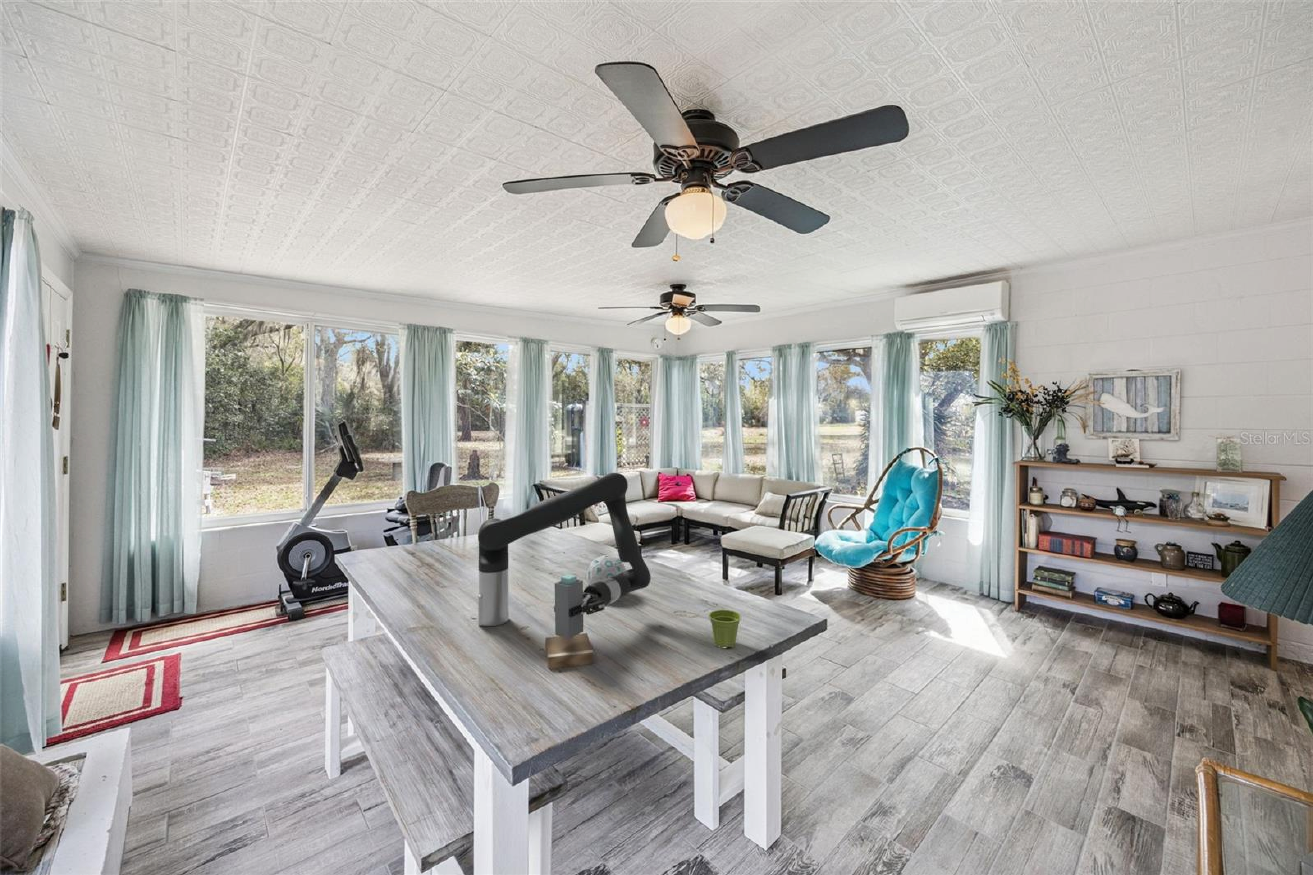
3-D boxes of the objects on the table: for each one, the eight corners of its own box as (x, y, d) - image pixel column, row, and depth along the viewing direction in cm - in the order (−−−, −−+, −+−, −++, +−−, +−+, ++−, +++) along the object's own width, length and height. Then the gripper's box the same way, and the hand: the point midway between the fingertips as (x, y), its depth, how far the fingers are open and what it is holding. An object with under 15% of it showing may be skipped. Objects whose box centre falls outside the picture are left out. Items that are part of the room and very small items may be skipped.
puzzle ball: (579, 599, 188) (579, 558, 188) (598, 586, 202) (598, 549, 202) (616, 604, 183) (616, 563, 182) (633, 591, 197) (633, 552, 196)
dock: (548, 668, 135) (548, 657, 135) (545, 647, 148) (545, 636, 148) (593, 663, 138) (593, 651, 138) (586, 643, 151) (586, 632, 151)
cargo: (568, 584, 145) (568, 574, 144) (576, 586, 143) (576, 576, 143) (561, 587, 142) (560, 577, 142) (569, 589, 140) (568, 579, 140)
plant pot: (733, 654, 144) (733, 624, 144) (703, 646, 149) (703, 617, 149) (745, 642, 152) (746, 613, 152) (717, 635, 157) (717, 607, 157)
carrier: (570, 627, 147) (569, 577, 146) (583, 631, 144) (582, 580, 144) (555, 634, 142) (554, 583, 141) (568, 639, 139) (567, 586, 139)
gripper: (584, 577, 158) (543, 593, 144) (621, 585, 150) (581, 603, 136) (584, 601, 159) (544, 619, 145) (621, 610, 151) (581, 630, 137)
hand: (562, 611), depth 141 cm, fingers closed on carrier, 5 cm apart
